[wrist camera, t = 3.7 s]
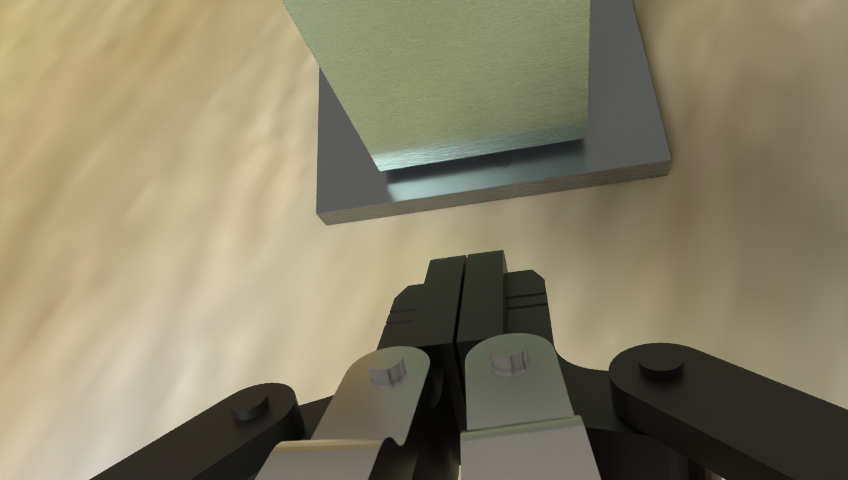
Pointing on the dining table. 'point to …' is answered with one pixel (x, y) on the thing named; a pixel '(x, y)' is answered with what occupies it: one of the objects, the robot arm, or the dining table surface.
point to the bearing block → (515, 169)
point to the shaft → (452, 73)
